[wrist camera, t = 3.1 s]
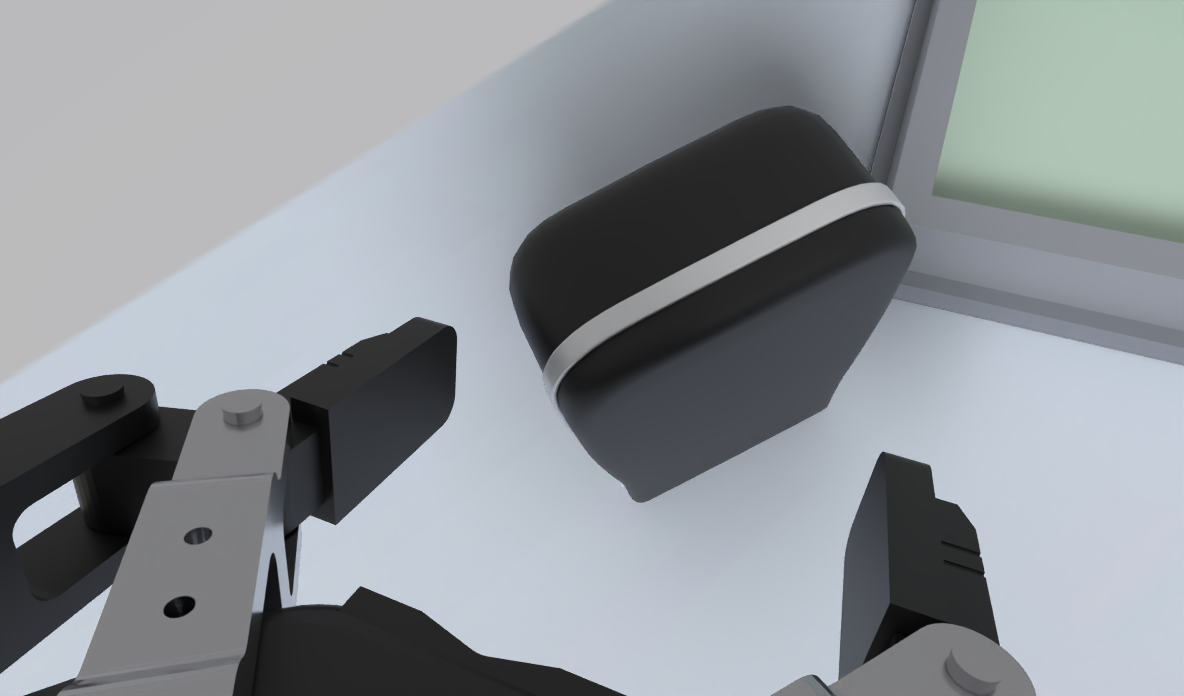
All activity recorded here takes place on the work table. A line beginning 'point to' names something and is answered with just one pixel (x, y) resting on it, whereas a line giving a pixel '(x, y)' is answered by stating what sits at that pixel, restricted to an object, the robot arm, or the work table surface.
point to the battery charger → (710, 295)
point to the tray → (1045, 166)
